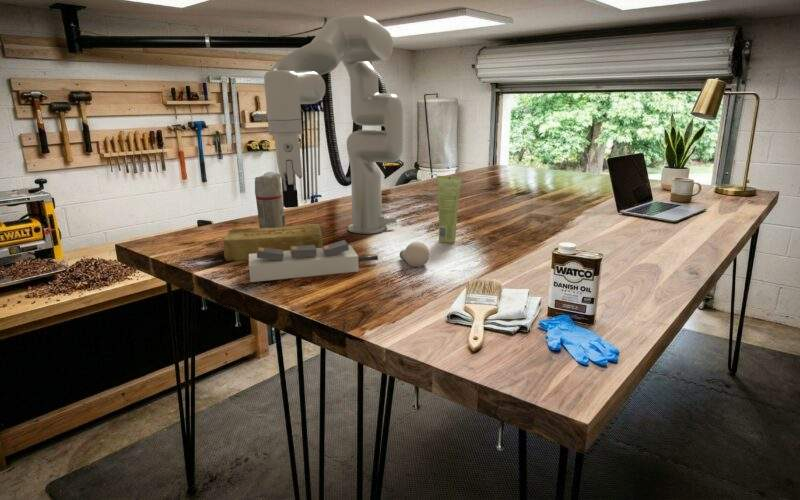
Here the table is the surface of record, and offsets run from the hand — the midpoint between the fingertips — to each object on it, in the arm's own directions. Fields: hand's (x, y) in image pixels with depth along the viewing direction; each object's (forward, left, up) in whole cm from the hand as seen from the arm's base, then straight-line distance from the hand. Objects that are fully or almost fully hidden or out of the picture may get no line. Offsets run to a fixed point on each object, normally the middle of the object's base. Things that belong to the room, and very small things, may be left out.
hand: (291, 206), depth 121 cm
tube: (-46, -15, -17) cm, 51 cm away
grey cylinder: (+4, -36, -17) cm, 40 cm away
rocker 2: (-2, 0, -12) cm, 12 cm away
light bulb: (-30, +2, -17) cm, 35 cm away
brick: (+4, -20, -17) cm, 27 cm away
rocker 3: (-10, 0, -12) cm, 15 cm away
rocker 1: (+6, 0, -12) cm, 13 cm away
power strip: (-5, -1, -17) cm, 17 cm away
